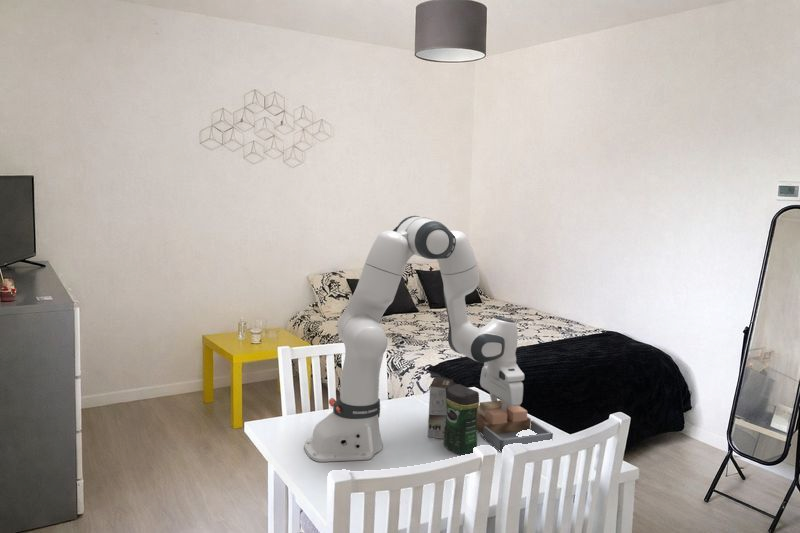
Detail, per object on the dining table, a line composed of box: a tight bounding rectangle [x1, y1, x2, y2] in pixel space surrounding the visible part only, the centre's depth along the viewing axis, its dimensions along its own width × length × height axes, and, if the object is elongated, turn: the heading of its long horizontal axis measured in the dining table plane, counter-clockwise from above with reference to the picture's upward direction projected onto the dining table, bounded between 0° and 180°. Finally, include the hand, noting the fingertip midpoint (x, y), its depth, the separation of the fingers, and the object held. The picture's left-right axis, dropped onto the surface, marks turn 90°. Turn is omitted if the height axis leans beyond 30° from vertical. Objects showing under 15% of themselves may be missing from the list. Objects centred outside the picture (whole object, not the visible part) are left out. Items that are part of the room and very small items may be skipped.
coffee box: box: [427, 377, 454, 440], centre depth 194 cm, size 9×6×16 cm
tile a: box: [485, 408, 507, 425], centre depth 196 cm, size 5×5×3 cm
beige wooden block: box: [479, 399, 510, 417], centre depth 201 cm, size 12×4×4 cm, turn 112°
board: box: [477, 404, 531, 436], centre depth 203 cm, size 16×15×4 cm
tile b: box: [506, 405, 528, 422], centre depth 198 cm, size 5×5×3 cm
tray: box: [482, 419, 554, 453], centre depth 191 cm, size 18×11×4 cm, turn 111°
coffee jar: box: [443, 383, 480, 455], centre depth 183 cm, size 10×8×19 cm
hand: (498, 409), depth 201 cm, fingers closed on beige wooden block, 3 cm apart
